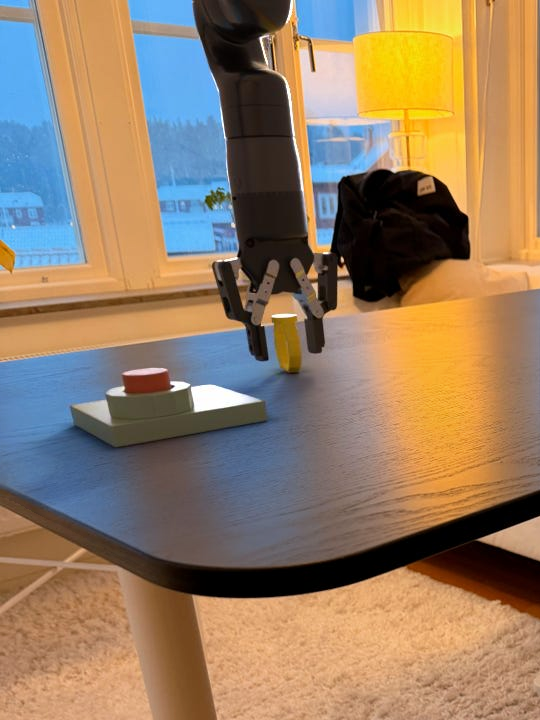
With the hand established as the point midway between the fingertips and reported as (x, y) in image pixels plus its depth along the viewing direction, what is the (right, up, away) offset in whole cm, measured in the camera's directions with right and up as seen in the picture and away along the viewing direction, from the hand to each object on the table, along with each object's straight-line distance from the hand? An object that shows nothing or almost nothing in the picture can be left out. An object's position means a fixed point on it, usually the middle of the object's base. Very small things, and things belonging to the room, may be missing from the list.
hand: (288, 356), depth 99 cm
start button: (-6, -12, -26) cm, 29 cm away
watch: (0, -2, +1) cm, 2 cm away
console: (-6, -13, -22) cm, 26 cm away
